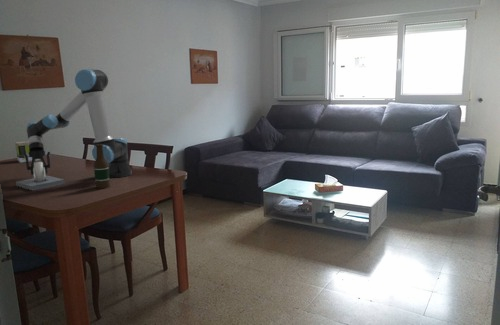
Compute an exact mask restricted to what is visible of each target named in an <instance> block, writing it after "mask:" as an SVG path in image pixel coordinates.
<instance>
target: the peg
mask: <svg viewBox="0 0 500 325" xmlns="http://www.w3.org/2000/svg"><path fill="white" fill-rule="evenodd" d="M43 167H44V166H43V162H41V161H35V163H34V168H35V177H36V182H37V183H38V182H43V181H45V179H44V171H43Z"/></svg>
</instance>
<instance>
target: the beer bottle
mask: <svg viewBox="0 0 500 325" xmlns="http://www.w3.org/2000/svg"><path fill="white" fill-rule="evenodd" d="M96 147H97V158H96V160H95V161H94V163H93V170H94V171H93V172H94V183H95V188H96V189H98V190H99V189H100V190H101V189H103V190H104V189H107V188H111V181H110V180H111V179H110V178H111V177H109V167H108V165H109V163H107V161H106V160H105V158H104V153H103V144H96Z"/></svg>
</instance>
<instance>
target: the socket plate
mask: <svg viewBox="0 0 500 325" xmlns="http://www.w3.org/2000/svg"><path fill="white" fill-rule="evenodd" d="M15 183H16V185H15V186H16V187H18V186H19V188H21V187H22V189H25V190H28V189H29V191H31V190H32V191H33V190H34V191H37V190H38V191H39V190H43V189H46V188H52V187H55V186H61V185H65V184H66V183H65V179H64V178H59V177H55V176H51V175H46V179H45V181H43V182H38V183H37V182H36V180H34V177H33V178H29V179H23V180H19V181H15Z"/></svg>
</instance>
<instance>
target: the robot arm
mask: <svg viewBox="0 0 500 325" xmlns="http://www.w3.org/2000/svg"><path fill="white" fill-rule="evenodd" d="M74 82H75V83H74V84H75V86H76V87H77V88H78V90H80V91H79V93H77V95H76V96H74V98H72V99H71V100H70V102H69V103H68V104H67V105H66V106H64V108H62V110H60V112H59V113H58V114H57V115H53V114H51V113H50V114H47V115H45V116H43V117H42V118H41V119H40V120H38V121H32V122H28V123H27V125H26V134H27V141H28V144H29V153H28V154H24V158H25V159H26V162H25V164H26V170H27V171H29V170H30V174H31V176H33V178H34V180H36V177H35V168H34V163H35V162H36V161H35V159H40V160H39V161H40V162H43V171H44V179H46V176H47V175H46V174H48V169H50V168H51V161H50V160H51V159H50V156H51V152H50V151H47V152H46V151H45V149H44V148H45V147H44V142H43V141H44V140H43V136H44V135H45V134H46V133H48V132H49V131H51V130H57V129H63V128H67V127H68V126H70V124H71V120H73V118H74V117H75V116H76V115H77V114H79V113H80V112H81V110H83V109H84V107H85V106H87V108H88V113H89V117H90V121H91V125H92V131H93V134H94V140H93V148H92V149H91V150H92V151H91V155H92V157H93V159H94V160H95V161H96V158H97V147H96V144H103V153H104V158H105V160H106V161H107V163H108V167H109V178H122V177H124V178H125V177H128V176H129V177H130V176H131V175H132V174H133V171H132V168H131V165H130V162H129V154H128V152H129V151H128V141H127V139H126V138H114V137H113V136H112V135H111V132H110V128H109V124H108V118H107V113H106V109H105V104H104V100H103V97H102V94H103V93H104V91H105V89H106V88H107V86H108V84H109V77H108V75H107V74H106V73H105V71H103V70H100V69H93V68H92V69H90V68H84V69H81V70H79V71H78V72H77V73H76V74H75V77H74ZM29 156H31V157H32V161H30V162H31V163H30V162H28V157H29ZM44 156H46V160H47V161H46V162H45V159H44Z"/></svg>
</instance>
